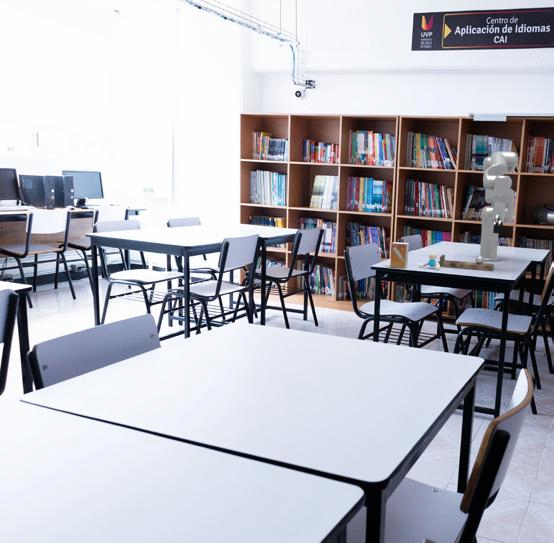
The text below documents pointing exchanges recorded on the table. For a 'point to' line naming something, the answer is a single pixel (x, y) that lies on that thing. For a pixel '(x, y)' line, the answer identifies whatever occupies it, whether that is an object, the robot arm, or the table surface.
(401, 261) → the small box
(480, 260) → the ball
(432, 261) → the molecule model
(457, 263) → the deck
